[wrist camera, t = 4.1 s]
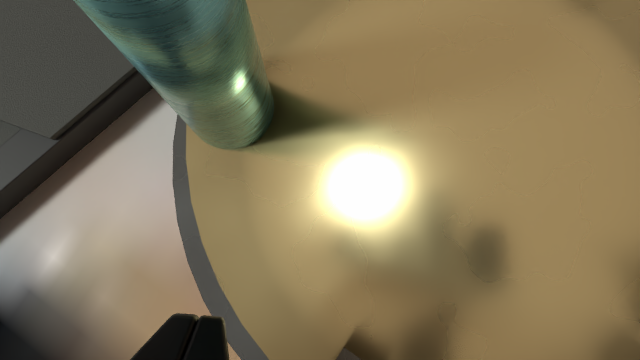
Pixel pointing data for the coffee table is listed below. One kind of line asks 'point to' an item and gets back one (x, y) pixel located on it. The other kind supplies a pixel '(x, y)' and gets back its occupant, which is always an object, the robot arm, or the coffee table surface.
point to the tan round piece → (408, 169)
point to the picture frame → (54, 90)
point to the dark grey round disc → (205, 256)
